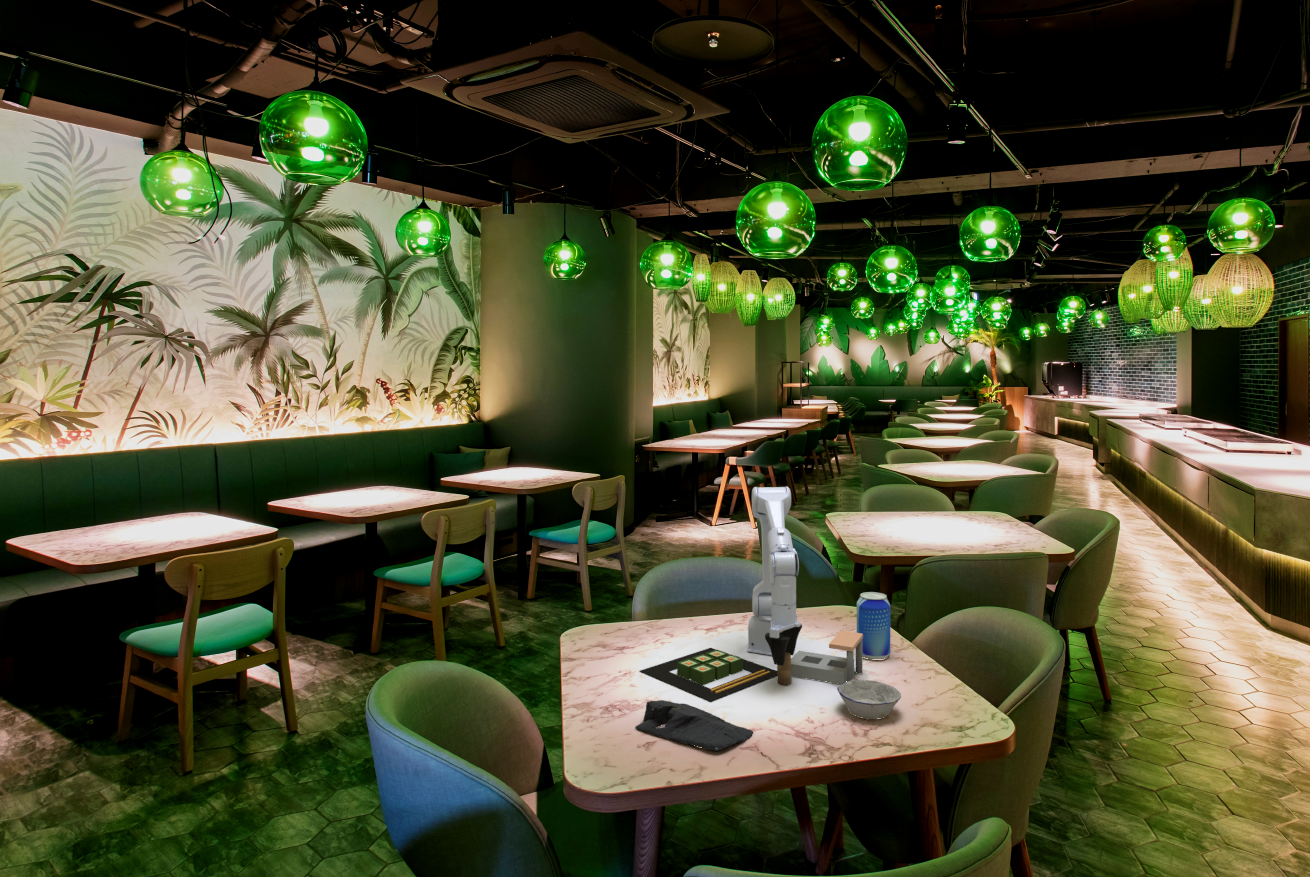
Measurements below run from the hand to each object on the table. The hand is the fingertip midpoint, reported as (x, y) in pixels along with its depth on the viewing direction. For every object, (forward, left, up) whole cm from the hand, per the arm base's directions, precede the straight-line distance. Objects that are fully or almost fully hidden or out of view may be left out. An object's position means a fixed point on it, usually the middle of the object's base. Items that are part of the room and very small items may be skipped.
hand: (784, 659), depth 171 cm
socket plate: (+6, +10, -6) cm, 13 cm away
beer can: (+15, +28, -6) cm, 32 cm away
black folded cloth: (-9, -32, -7) cm, 34 cm away
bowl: (+21, -7, -6) cm, 23 cm away
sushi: (-18, -1, -7) cm, 20 cm away
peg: (0, 0, -6) cm, 6 cm away
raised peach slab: (+12, +10, -6) cm, 17 cm away
